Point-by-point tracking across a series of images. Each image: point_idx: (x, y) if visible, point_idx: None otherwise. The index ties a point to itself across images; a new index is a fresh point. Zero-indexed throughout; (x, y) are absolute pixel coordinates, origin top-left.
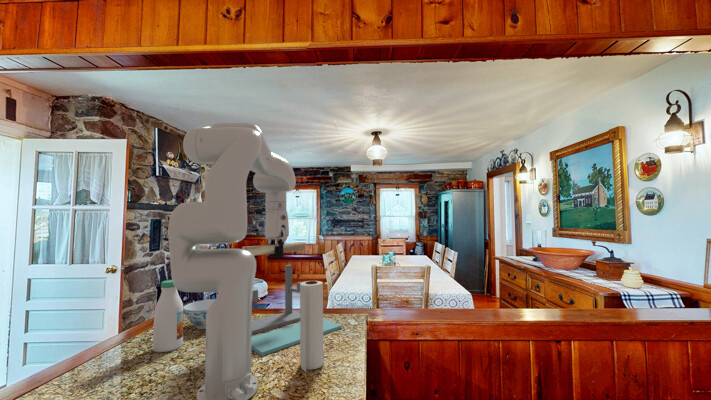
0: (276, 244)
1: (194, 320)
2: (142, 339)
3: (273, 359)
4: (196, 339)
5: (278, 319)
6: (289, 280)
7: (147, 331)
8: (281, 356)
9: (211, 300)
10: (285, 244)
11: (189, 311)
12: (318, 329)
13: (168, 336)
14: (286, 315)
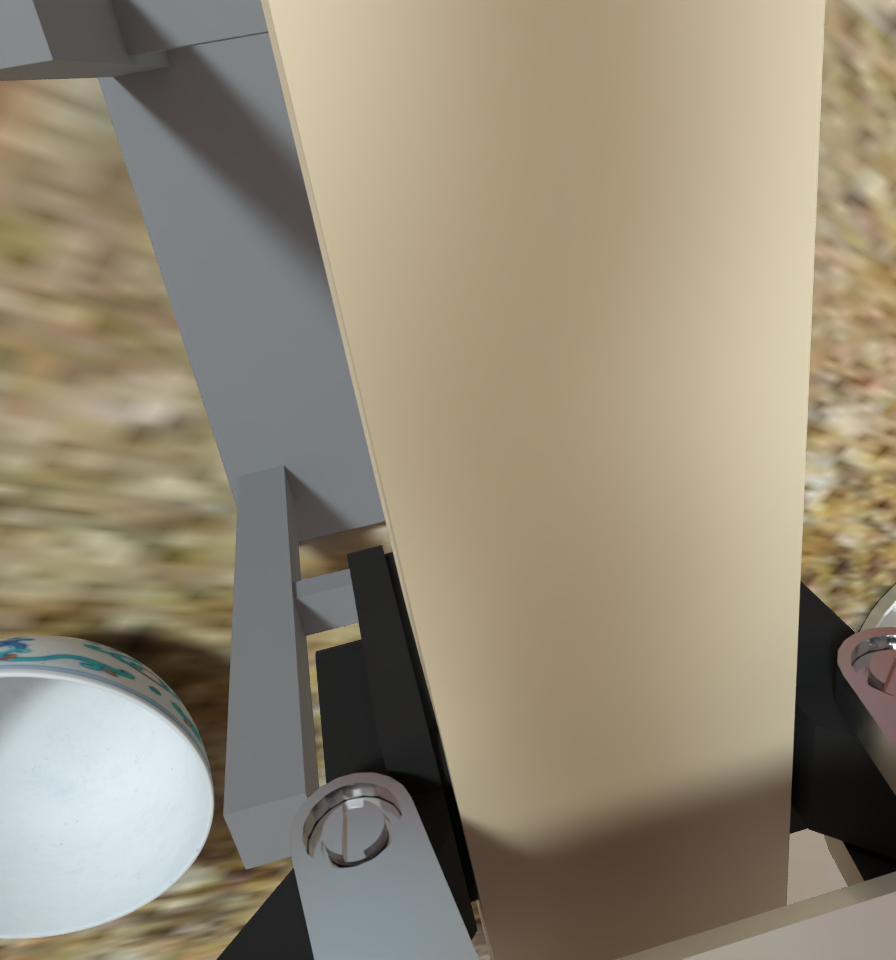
0: (868, 856)
1: (164, 807)
2: (152, 937)
3: (852, 442)
4: (321, 732)
5: (308, 227)
6: (101, 24)
7: (5, 947)
8: (855, 399)
9: None
10: (789, 546)
11: (156, 888)
12: None
13: None
14: (223, 107)
